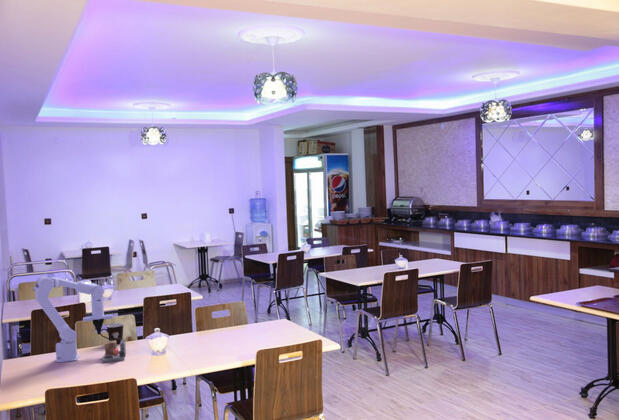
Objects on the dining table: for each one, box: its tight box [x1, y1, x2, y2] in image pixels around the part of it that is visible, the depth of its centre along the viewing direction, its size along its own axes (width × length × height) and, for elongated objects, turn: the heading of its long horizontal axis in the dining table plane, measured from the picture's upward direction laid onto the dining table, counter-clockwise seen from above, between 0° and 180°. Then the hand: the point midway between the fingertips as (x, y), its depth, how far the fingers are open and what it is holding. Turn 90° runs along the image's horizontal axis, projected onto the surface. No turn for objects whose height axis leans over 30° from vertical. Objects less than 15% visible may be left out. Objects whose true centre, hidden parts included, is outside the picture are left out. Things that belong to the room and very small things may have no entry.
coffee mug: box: [99, 322, 124, 346], centre depth 311 cm, size 12×9×10 cm
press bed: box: [101, 338, 127, 364], centre depth 283 cm, size 10×14×7 cm
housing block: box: [104, 340, 118, 356], centre depth 286 cm, size 5×5×6 cm
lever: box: [113, 347, 120, 359], centre depth 278 cm, size 3×3×4 cm
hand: (99, 333), depth 293 cm, fingers closed
